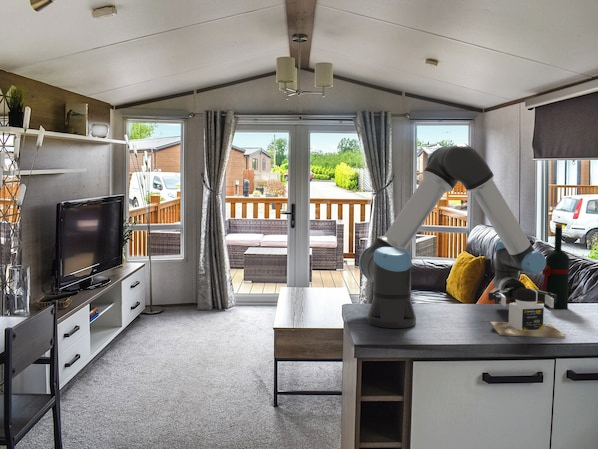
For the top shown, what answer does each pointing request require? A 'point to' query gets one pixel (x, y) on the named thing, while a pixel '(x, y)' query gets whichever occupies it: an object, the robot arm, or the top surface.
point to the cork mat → (547, 331)
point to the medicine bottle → (526, 311)
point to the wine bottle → (557, 273)
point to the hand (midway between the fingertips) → (528, 302)
